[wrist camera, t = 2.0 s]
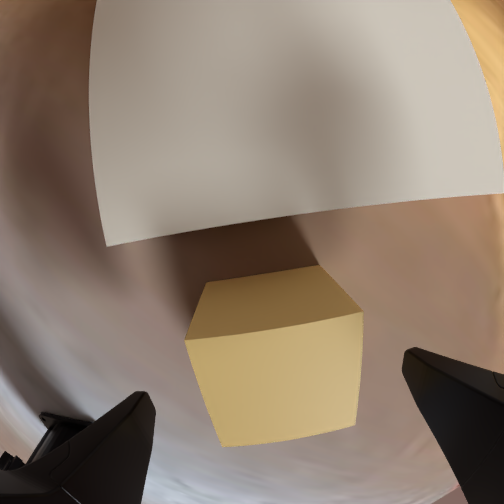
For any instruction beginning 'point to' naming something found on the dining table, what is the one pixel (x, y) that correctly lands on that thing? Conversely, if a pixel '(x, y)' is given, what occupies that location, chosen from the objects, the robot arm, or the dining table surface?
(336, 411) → the cube
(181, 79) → the board
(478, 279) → the dining table surface
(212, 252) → the dining table surface
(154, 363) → the dining table surface
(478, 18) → the dining table surface
